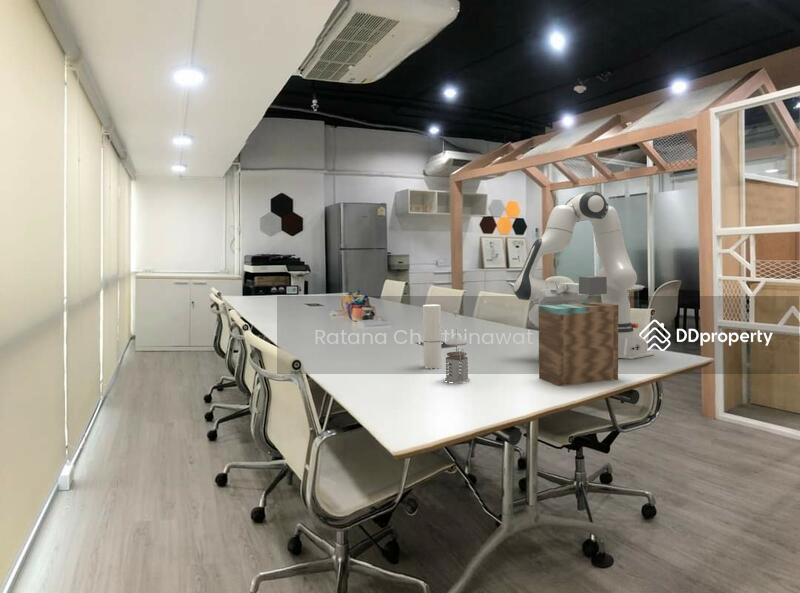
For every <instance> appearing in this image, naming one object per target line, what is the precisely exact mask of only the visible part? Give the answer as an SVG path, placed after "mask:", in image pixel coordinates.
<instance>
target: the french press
mask: <svg viewBox="0 0 800 593" xmlns="http://www.w3.org/2000/svg"><path fill="white" fill-rule="evenodd" d="M452 313H453V315H455V316H457V315H459V311H457V310H453V312H452ZM457 334H458V333H457V330H455V337H453V338H450V339H448V340H446V341H445V342H444V344H445V345H446V346H453V347H454V346H455V351H450V352H447V353H446V355H447V357H445V370H446V371H445V378H444V379H445V381H447V382H453V383H462V384H464V383H463V382H468V383H470V382H471V381H470V380H471V379H470V378H469V374H468V371H469V369H468V367H469V366H468V361H469V360H468V357H467V353H466V352H465V349H464V348H463V347H462V348H461V350H460V349H459V348H458V347H459V346H460V347H461V346H465V345H467V344H468V343H469V342H468V341H467V340H465V339H463V338H459V337H457ZM469 381H470V382H469Z"/></svg>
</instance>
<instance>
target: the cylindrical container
mask: <svg viewBox="0 0 800 593" xmlns="http://www.w3.org/2000/svg"><path fill="white" fill-rule="evenodd" d="M441 307H442V306H441V304H436V303H435V304H433V303H432V304H423V305H422V332H423V333H422V334H423V336H422V338H423V339H422V340H423V368H424V367H427V368H439V369H441V368H440V367H443V364H442V363H443V362H442V358H443V357H442V356H443V355H442V353H443V352H442V317H441V316H442V314H441Z"/></svg>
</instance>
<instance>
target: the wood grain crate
mask: <svg viewBox="0 0 800 593" xmlns="http://www.w3.org/2000/svg"><path fill="white" fill-rule="evenodd" d="M538 379H540V380H542V381H545V382H546V383H547V382H548V383H549V384H550V383H551V384H553V385H555V386H557V387H558V386H559V387H560V386H569V385H570V386H571V385H578V384H588V382H589V383H596V381H597V382H605V381H604V380H606V381H613V380H612V379H615V380H618V379H619V358H618V305H613V304H605V303H602V302H596V301H595V302H581V303H578V304H562V305H546V306H539V325H538Z"/></svg>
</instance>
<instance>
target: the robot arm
mask: <svg viewBox="0 0 800 593" xmlns="http://www.w3.org/2000/svg"><path fill="white" fill-rule="evenodd" d="M584 221H589V223H590V224H591V225H592V229H593V235H594V241H595V246H596V251H597V254H598V256H599V258H600V261H601V263H602V267H601V268H599V271H598V272H597V276H603V277H607V294H600V298H601V303H605V304H613V305H618V359H628V360H630V359H631V360H633V359H638V358H644V357H650V356H653V355H654V352H653V351H651V350H648V344H647V340H646V339H644V338H643V337H642V336H641V335H639V334H638V333H637V332H636V331H635V330H634V329H638V328H639V324H638V323H636V322H633V323H632V322H631V302H630V299H629V296H628V290H630V289H631V288H633V287H634V286H635V285H636V283H637V281H638V274H637V272H636V270H635V269H634V266H633V265H632V261H631V259H630V256H629V254H628V251H627V247H626V244H625V243H626V242H625V239H624V234H623V229H622V228H623V227H622V224H621V220H620V217H619V213H618V212H617V210H616V208H615V207H613V206H612V205H609V204H608V202H607V200H606V198H605V197H604V196H603V195H602V193H600V192H598V191H588V192H585V193H584V192H583V193H580V194H578V195H577V196H575V197H571V198H570V199H569V200H567V202H566V203H565V204H558V205H556V206H554V208H552V210H551V213H550V214H549V217H548V219H547V223H546V226H545V230H544V233H543V235H542V236H541V237H540V238H538V239H535V241H534V242H533V244H532V245H531V248H530V250H529V252H528V254H527V256H526V260H525V261H524V264H523V266H522V269H521V271H520V273H519V274H518V276H517V278H516V281H515V282H514V286H513V293H514V295H515V296H516V298H517V299H518V300H521V301H522V300H523V301H528V302H529V301H530V302H532V303H533V304H534V305H533V306H532V308H531V309H530V310H529V312H528V318H529V319H528V320H530V322H531V323H532V324H534V325H537V326H539V306H546V305H562V304H578V303H583V302H584V301H585V300H587V299H588V297H589V296H590V295H586V294H579V293H574V292H565V291H567V290H568V289H569V287H568V285H564V286H562V287H560V288H559V287H558V285H557V283H556V282H553V281H548V280H545V279H540V278H537V277H536V278H535V277H533V274H534V272H535V270H536V268H537V265H538V262H539V261H540V258H542V257H543V256H545V255H548V254H556V253H560V252H562V251H564V250H566V249H568V247H569V246H570V244H571V241H572V239H573V234H574V228H575V226H576V223H578V222H584Z"/></svg>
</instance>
